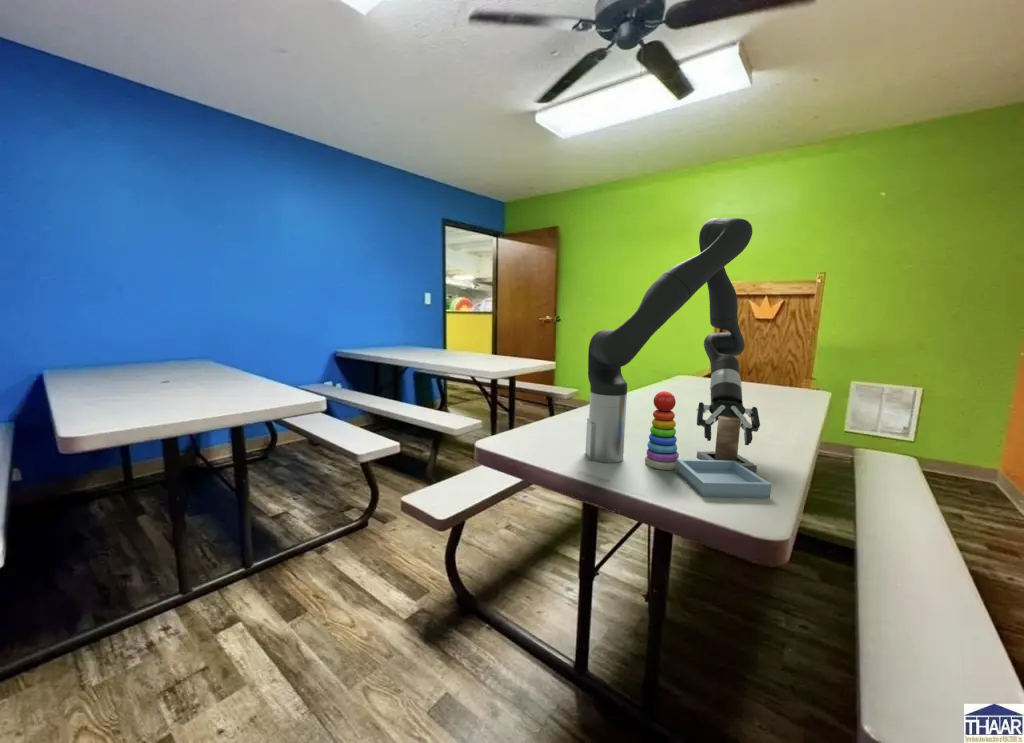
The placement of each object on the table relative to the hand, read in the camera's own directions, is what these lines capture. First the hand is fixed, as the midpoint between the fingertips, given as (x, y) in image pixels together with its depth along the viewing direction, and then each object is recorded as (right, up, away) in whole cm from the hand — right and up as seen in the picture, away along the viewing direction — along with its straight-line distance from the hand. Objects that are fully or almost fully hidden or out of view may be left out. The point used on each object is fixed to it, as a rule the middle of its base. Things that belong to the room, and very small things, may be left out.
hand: (728, 441), depth 102 cm
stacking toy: (-17, -6, 0) cm, 18 cm away
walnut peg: (0, -6, +2) cm, 6 cm away
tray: (-8, -8, -11) cm, 15 cm away
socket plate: (0, -6, +2) cm, 6 cm away
